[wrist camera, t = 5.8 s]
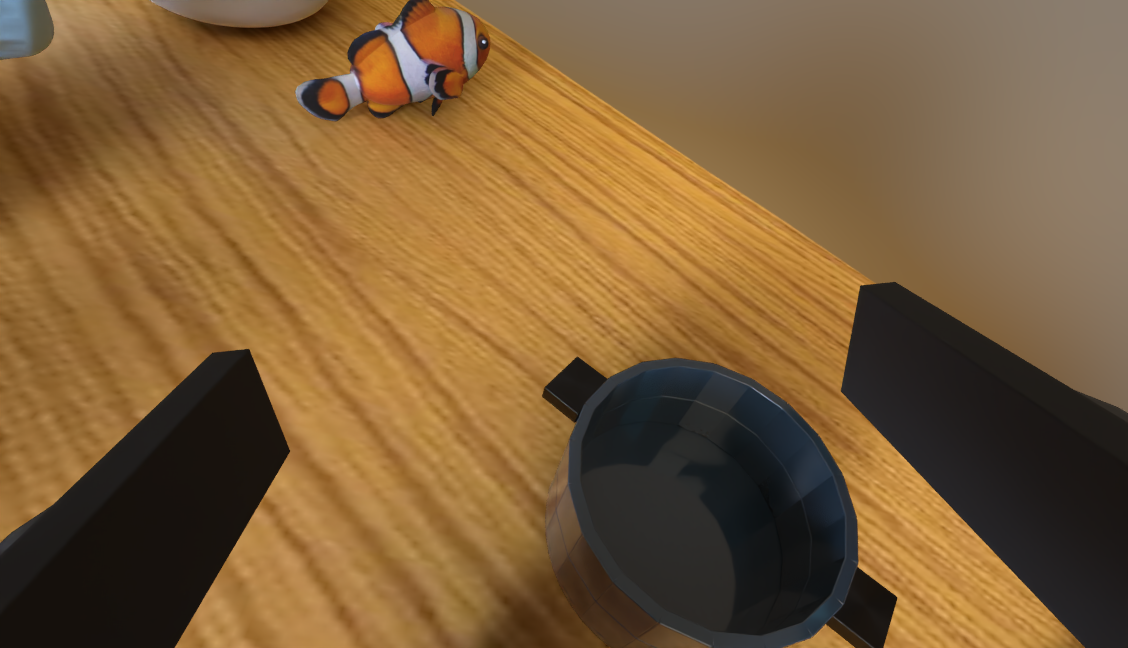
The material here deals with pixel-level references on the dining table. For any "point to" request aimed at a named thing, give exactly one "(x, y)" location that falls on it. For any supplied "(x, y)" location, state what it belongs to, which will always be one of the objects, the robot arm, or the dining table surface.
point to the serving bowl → (244, 11)
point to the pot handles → (866, 598)
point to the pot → (699, 514)
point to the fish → (403, 63)
